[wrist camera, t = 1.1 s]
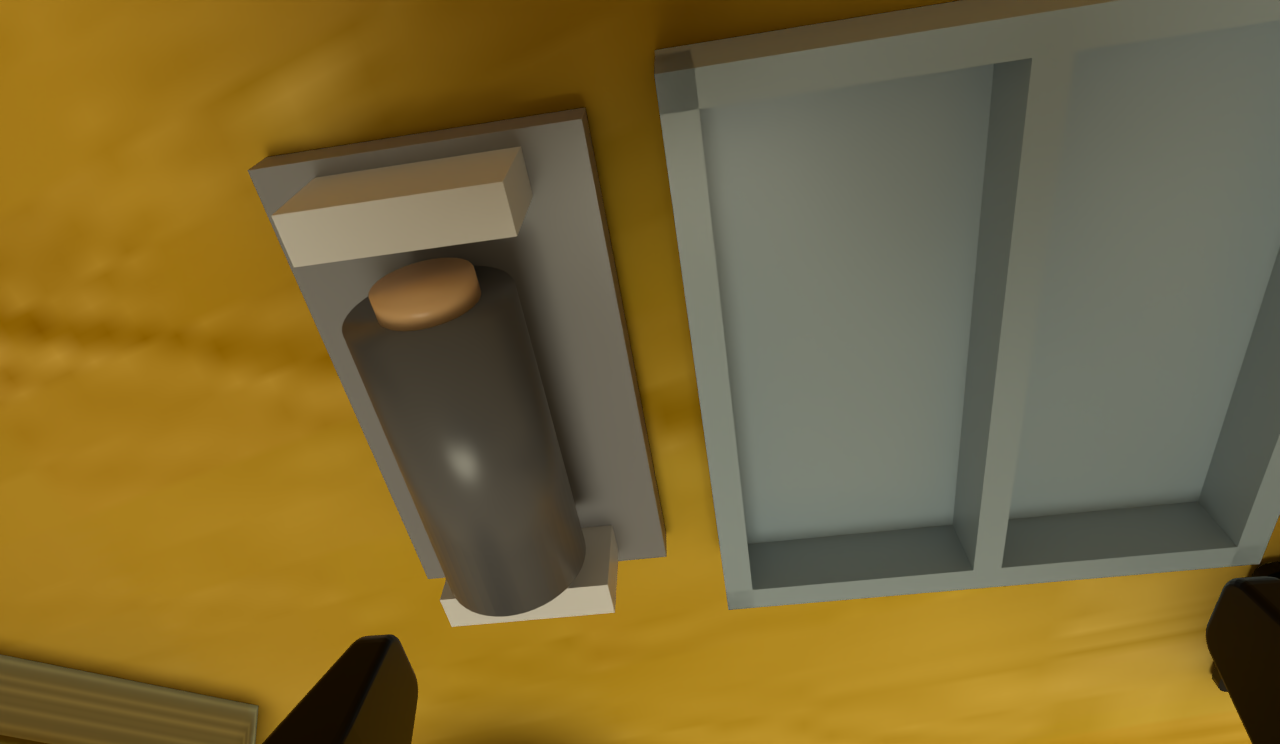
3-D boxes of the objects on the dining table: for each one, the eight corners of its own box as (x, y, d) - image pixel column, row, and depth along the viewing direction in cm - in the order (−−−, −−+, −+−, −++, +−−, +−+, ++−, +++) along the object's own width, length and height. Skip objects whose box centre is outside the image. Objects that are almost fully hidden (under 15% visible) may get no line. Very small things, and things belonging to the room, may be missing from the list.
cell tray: (1207, 504, 24) (1259, 563, 22) (723, 550, 26) (728, 609, 24) (1397, -71, 16) (1512, -63, 14) (655, 50, 17) (654, 73, 15)
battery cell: (590, 505, 24) (579, 609, 20) (465, 518, 24) (433, 622, 21) (521, 233, 19) (491, 312, 15) (366, 255, 19) (303, 336, 16)
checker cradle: (666, 534, 25) (667, 617, 23) (435, 556, 26) (408, 639, 23) (585, 107, 18) (571, 151, 15) (266, 157, 19) (195, 207, 16)
